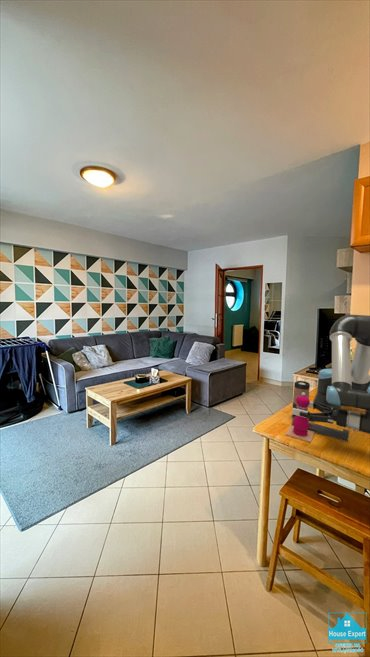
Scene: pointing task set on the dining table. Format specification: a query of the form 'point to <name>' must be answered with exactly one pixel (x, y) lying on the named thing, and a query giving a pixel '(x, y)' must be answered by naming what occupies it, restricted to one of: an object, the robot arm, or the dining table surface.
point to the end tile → (305, 438)
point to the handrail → (328, 431)
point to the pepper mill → (300, 422)
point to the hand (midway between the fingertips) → (295, 406)
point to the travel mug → (300, 391)
